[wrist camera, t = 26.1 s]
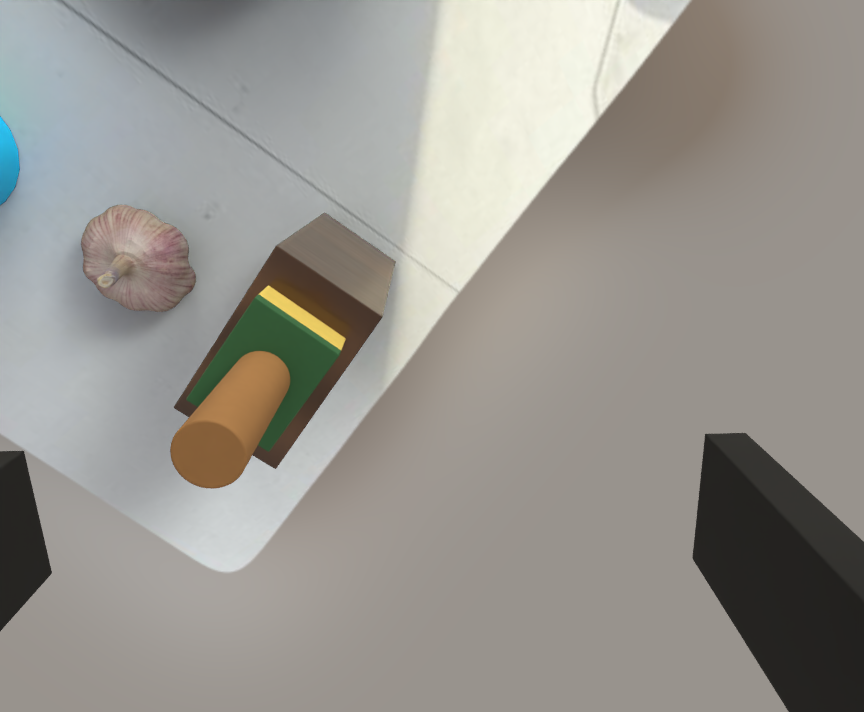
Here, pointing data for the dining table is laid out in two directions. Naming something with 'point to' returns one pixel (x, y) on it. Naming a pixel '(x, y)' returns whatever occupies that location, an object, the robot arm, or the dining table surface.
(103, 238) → the garlic bulb
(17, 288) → the dining table surface
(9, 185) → the mug
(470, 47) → the dining table surface
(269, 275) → the stand
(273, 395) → the sponge
